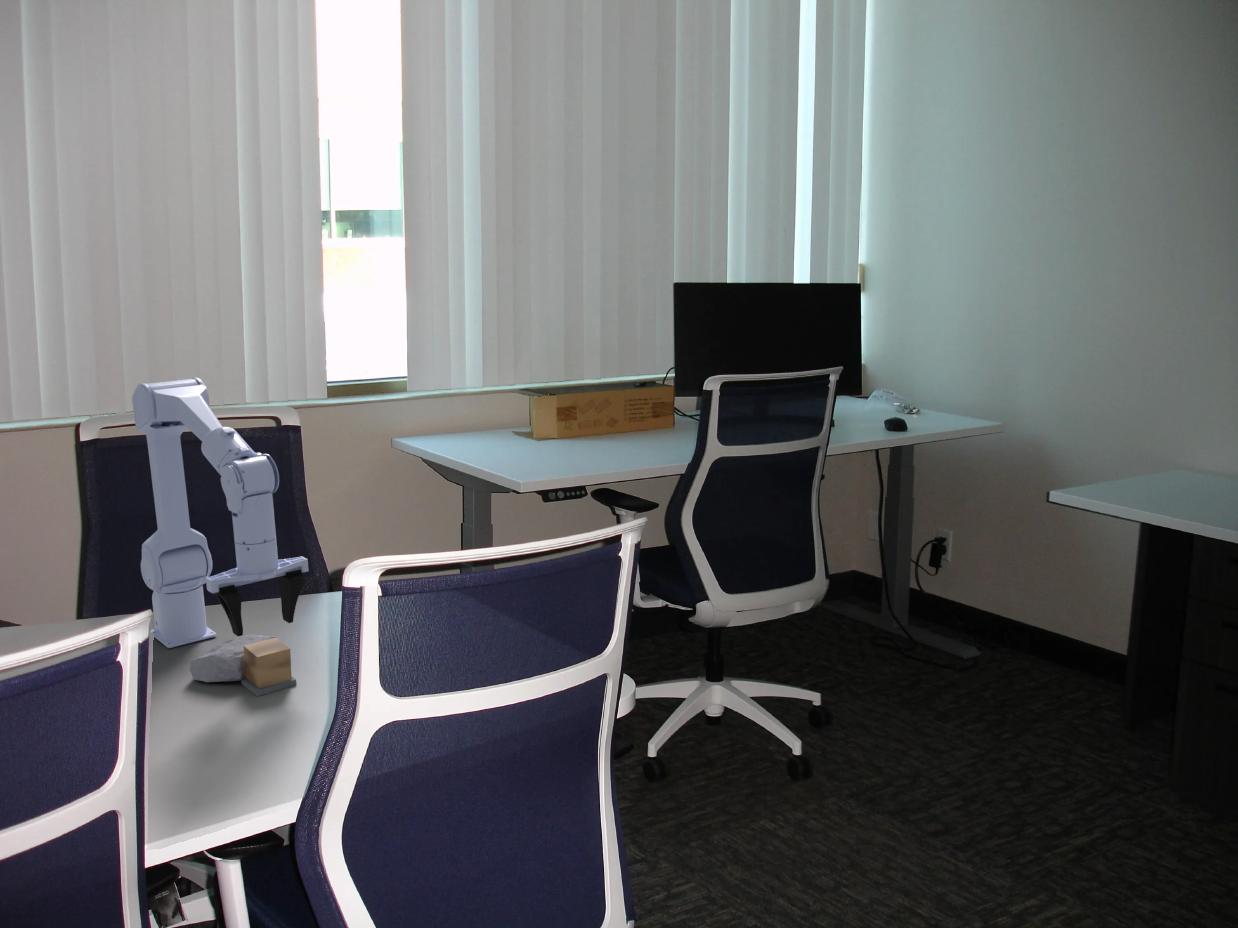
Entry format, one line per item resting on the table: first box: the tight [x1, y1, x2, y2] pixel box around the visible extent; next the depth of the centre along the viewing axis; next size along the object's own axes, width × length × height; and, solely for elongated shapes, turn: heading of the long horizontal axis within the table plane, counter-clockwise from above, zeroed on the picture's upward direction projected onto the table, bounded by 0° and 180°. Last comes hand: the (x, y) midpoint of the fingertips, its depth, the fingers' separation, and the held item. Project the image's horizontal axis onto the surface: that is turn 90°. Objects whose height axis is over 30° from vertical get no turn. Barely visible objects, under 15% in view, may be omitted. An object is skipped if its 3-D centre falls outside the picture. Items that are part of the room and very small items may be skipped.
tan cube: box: [244, 637, 293, 689], centre depth 156 cm, size 5×5×5 cm
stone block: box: [189, 634, 277, 683], centre depth 162 cm, size 12×5×10 cm
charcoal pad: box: [240, 675, 297, 697], centre depth 157 cm, size 6×6×1 cm
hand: (263, 627), depth 155 cm, fingers open, 7 cm apart
